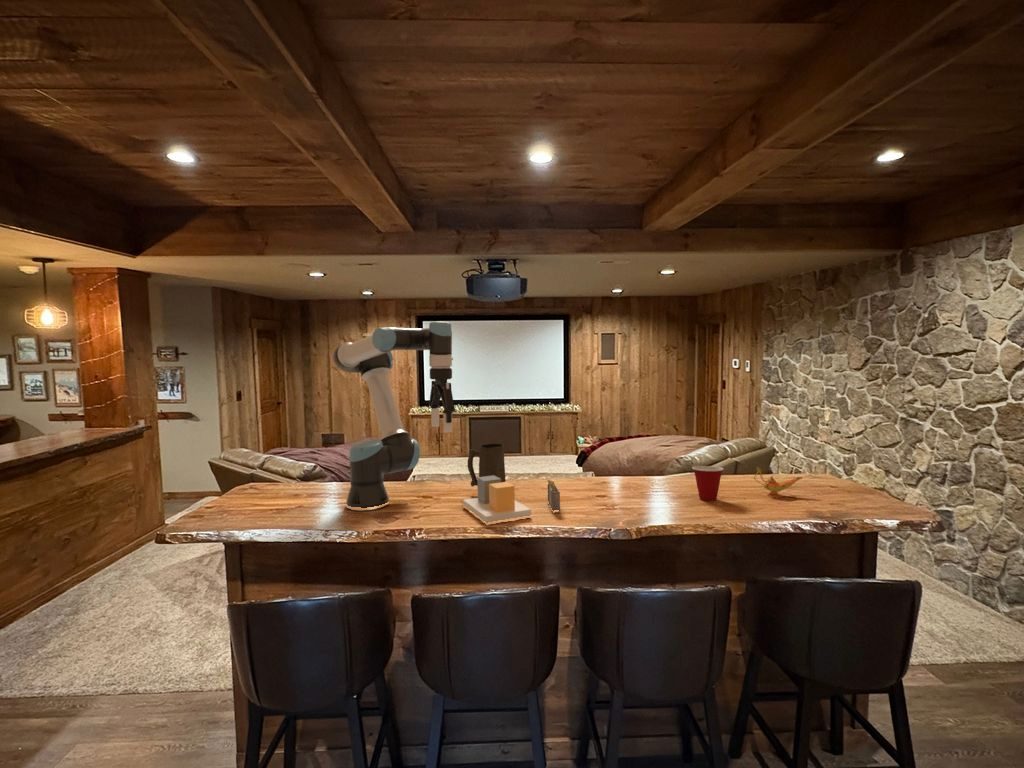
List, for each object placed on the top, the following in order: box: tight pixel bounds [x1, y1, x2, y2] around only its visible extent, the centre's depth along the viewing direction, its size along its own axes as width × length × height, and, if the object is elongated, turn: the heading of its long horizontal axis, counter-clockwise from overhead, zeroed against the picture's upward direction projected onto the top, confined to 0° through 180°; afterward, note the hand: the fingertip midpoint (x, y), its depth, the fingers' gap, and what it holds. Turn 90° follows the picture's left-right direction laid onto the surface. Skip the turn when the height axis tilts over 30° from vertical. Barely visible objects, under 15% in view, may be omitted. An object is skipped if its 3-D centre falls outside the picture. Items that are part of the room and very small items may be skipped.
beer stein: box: [467, 443, 507, 487], centre depth 200 cm, size 15×11×20 cm
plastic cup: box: [691, 465, 724, 502], centre depth 188 cm, size 11×11×12 cm
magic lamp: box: [753, 466, 803, 499], centre depth 191 cm, size 7×18×11 cm, turn 89°
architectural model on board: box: [546, 478, 561, 512], centre depth 181 cm, size 11×3×10 cm, turn 4°
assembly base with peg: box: [462, 475, 532, 523], centre depth 177 cm, size 22×16×11 cm
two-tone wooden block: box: [489, 481, 516, 513], centre depth 171 cm, size 6×6×8 cm
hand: (441, 429), depth 176 cm, fingers open, 13 cm apart
